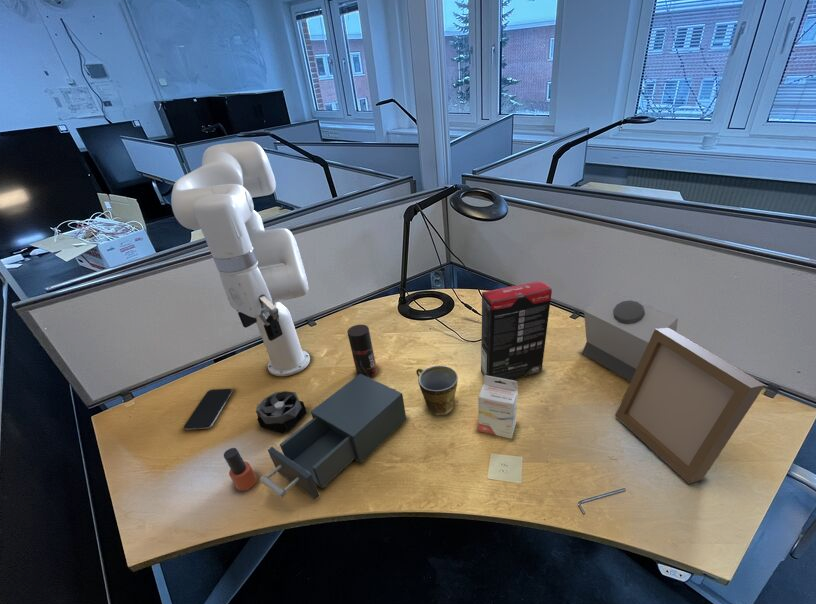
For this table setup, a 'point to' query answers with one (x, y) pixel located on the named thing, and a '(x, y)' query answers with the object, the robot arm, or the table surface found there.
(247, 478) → the nail polish bottle
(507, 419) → the ink cartridge box
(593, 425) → the table surface
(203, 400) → the smartphone
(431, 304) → the table surface
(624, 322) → the alarm clock
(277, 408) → the cpu cooler
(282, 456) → the drawer
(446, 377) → the ceramic cup
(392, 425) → the cabinet
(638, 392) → the photo frame
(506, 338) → the graphics card box
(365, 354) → the deodorant
